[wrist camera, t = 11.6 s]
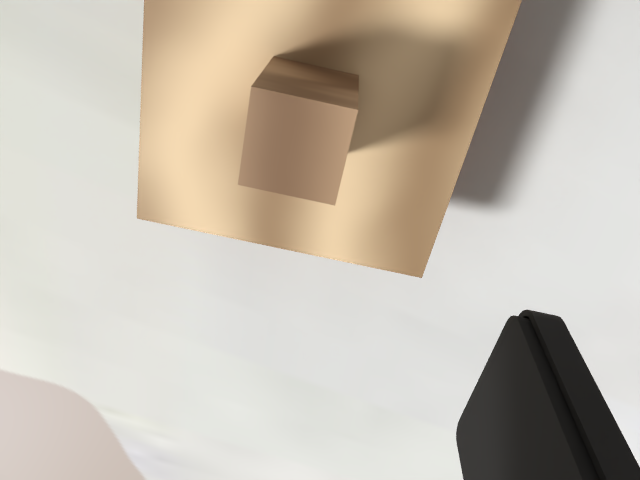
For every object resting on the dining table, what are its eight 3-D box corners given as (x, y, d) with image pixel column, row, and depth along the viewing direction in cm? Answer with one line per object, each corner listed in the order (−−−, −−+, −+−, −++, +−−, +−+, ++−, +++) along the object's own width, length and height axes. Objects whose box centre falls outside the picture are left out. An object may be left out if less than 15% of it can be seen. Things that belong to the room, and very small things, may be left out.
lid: (528, -41, 20) (587, -33, 15) (419, 266, 27) (433, 345, 22) (158, -128, 19) (83, -152, 14) (144, 209, 26) (91, 276, 21)
